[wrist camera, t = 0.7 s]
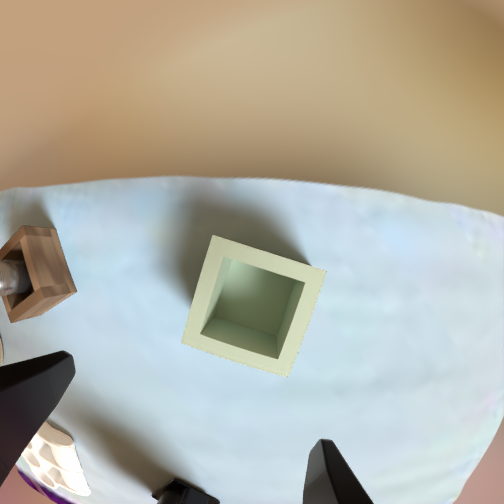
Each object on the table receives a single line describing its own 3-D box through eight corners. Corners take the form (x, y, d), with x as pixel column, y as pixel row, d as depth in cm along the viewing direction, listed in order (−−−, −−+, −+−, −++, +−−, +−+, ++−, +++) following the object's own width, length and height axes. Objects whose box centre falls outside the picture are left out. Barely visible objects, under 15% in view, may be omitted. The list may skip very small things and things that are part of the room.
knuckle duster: (98, 499, 24) (33, 461, 25) (73, 420, 24) (6, 380, 25) (90, 510, 21) (24, 470, 21) (59, 431, 21) (-8, 387, 21)
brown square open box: (77, 291, 23) (44, 298, 18) (41, 315, 24) (10, 323, 19) (55, 228, 23) (23, 225, 18) (22, 258, 24) (-8, 258, 19)
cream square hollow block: (283, 346, 22) (287, 377, 16) (202, 320, 22) (181, 342, 16) (311, 266, 22) (326, 271, 16) (227, 239, 22) (212, 234, 16)
